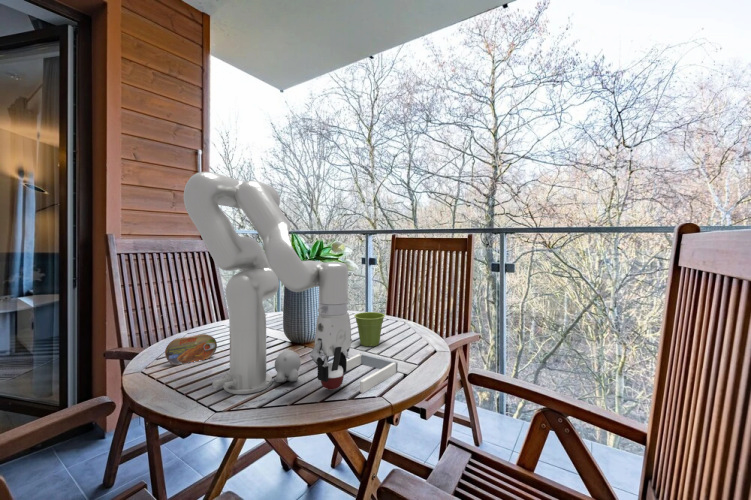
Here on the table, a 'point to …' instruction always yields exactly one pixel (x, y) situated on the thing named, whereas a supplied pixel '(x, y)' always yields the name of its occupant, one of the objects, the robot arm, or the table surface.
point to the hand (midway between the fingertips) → (332, 375)
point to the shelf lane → (385, 365)
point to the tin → (190, 349)
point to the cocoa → (334, 372)
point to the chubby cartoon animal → (287, 366)
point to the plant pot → (369, 327)
